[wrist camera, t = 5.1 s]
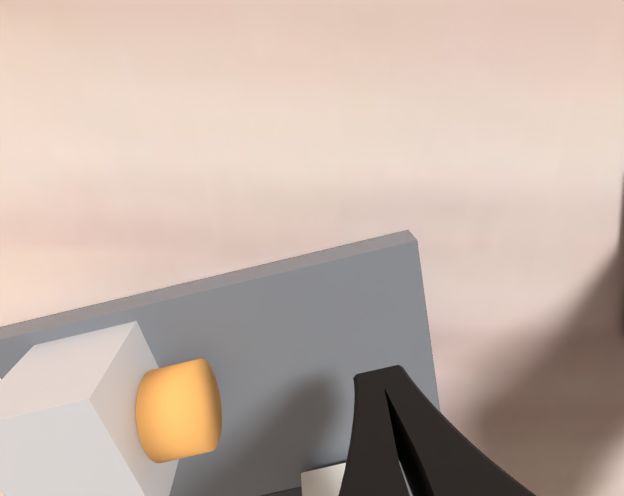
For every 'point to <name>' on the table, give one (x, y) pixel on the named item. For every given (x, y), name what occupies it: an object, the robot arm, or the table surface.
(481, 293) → the table surface
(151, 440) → the orange button
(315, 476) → the off-white slider
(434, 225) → the table surface
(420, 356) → the control panel
